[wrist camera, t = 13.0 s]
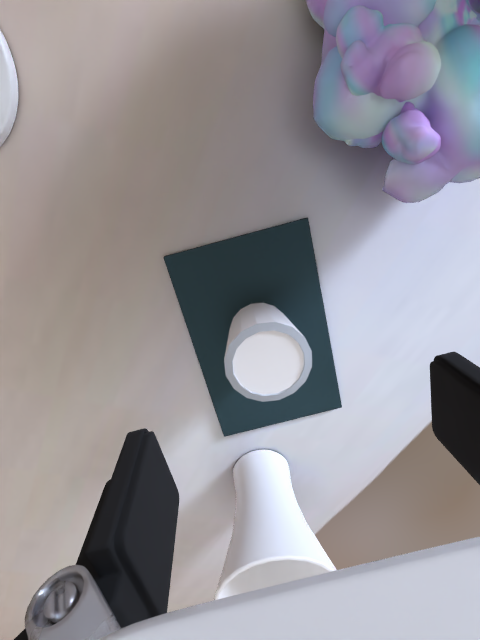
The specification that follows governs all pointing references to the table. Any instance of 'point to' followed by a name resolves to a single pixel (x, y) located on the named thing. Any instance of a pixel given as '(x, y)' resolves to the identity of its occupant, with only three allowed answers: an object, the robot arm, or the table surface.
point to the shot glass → (266, 354)
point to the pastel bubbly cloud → (403, 87)
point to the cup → (268, 530)
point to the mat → (248, 288)
